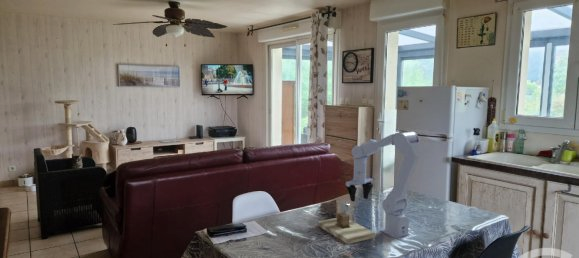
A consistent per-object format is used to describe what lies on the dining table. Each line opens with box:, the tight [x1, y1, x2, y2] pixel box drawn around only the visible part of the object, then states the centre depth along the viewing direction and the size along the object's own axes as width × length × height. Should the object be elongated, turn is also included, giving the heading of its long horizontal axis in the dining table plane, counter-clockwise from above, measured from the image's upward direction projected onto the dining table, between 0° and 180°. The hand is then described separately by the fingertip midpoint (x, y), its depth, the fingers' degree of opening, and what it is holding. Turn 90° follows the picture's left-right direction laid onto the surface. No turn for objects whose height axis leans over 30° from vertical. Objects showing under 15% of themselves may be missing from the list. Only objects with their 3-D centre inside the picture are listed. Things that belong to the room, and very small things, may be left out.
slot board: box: [317, 217, 376, 245], centre depth 160 cm, size 22×14×2 cm, turn 28°
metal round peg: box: [338, 201, 351, 220], centre depth 177 cm, size 5×5×7 cm
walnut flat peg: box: [336, 212, 350, 229], centre depth 162 cm, size 5×3×7 cm, turn 28°
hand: (359, 199), depth 174 cm, fingers open, 7 cm apart
